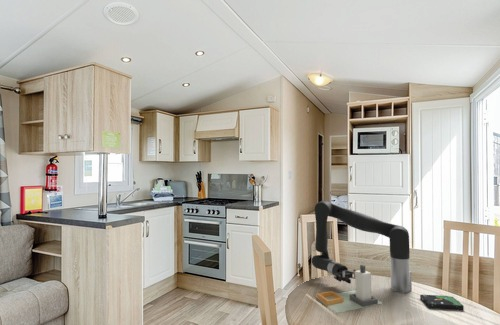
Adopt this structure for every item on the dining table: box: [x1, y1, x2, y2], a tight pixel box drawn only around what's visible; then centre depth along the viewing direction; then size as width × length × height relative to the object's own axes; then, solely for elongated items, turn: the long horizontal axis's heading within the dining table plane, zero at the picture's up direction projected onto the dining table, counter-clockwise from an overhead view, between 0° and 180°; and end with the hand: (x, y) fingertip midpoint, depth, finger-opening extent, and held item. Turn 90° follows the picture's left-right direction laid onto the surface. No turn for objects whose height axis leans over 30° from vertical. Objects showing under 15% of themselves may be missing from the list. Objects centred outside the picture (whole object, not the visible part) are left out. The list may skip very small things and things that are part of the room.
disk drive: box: [419, 294, 465, 311], centre depth 141 cm, size 10×3×15 cm
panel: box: [315, 289, 383, 315], centre depth 144 cm, size 26×17×3 cm, turn 110°
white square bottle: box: [354, 264, 372, 301], centre depth 143 cm, size 5×5×17 cm
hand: (357, 280), depth 147 cm, fingers open, 8 cm apart
